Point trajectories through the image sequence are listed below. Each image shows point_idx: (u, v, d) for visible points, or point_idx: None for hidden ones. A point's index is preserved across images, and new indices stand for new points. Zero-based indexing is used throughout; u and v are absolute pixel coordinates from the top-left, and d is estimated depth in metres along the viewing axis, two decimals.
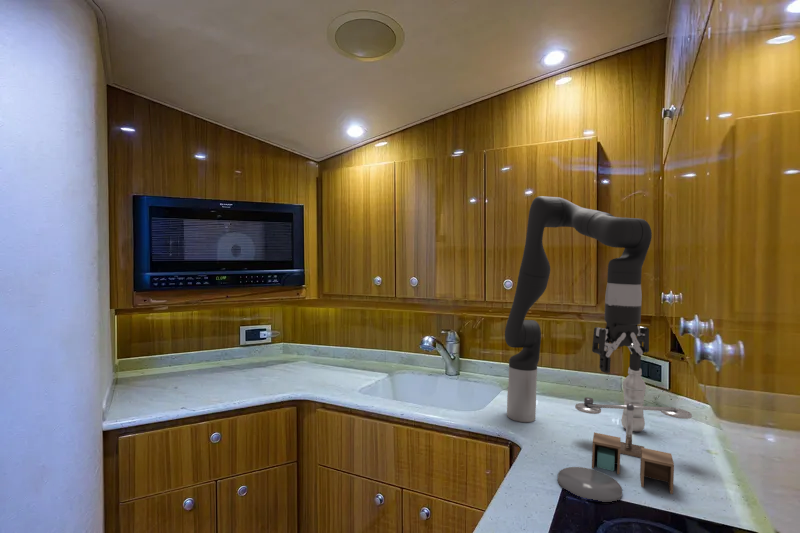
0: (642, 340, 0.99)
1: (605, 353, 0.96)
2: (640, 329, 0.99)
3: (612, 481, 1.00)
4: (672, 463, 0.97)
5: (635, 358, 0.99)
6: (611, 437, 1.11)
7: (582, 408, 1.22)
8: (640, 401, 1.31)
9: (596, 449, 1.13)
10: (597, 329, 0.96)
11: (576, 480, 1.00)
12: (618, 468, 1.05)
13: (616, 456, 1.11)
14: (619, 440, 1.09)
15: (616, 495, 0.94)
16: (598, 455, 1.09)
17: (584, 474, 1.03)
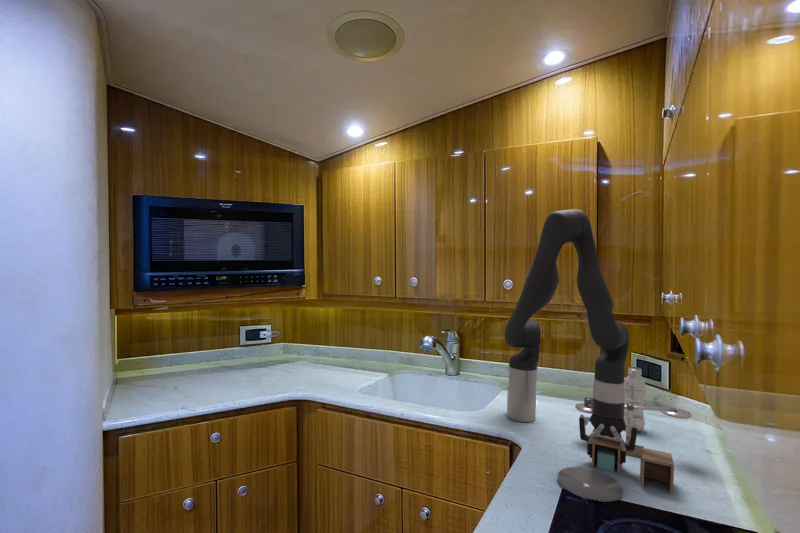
0: None
1: None
2: None
3: (612, 481, 1.00)
4: (672, 463, 0.97)
5: None
6: None
7: (582, 408, 1.22)
8: (640, 401, 1.31)
9: (596, 449, 1.13)
10: None
11: (576, 480, 1.00)
12: (618, 468, 1.05)
13: (616, 456, 1.11)
14: None
15: (616, 495, 0.94)
16: (598, 455, 1.09)
17: (584, 474, 1.03)
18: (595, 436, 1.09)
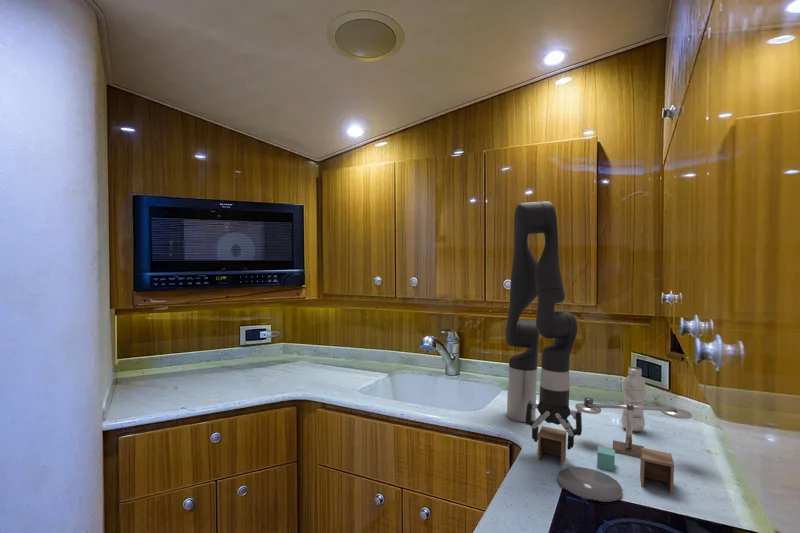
0: (531, 413, 1.16)
1: None
2: None
3: (612, 481, 1.00)
4: (672, 463, 0.97)
5: None
6: (557, 430, 1.14)
7: (582, 408, 1.22)
8: (640, 401, 1.31)
9: (544, 442, 1.16)
10: (580, 413, 1.09)
11: (576, 480, 1.00)
12: (561, 460, 1.09)
13: None
14: (564, 433, 1.12)
15: (616, 495, 0.94)
16: (598, 455, 1.09)
17: (584, 474, 1.03)
18: (540, 422, 1.13)
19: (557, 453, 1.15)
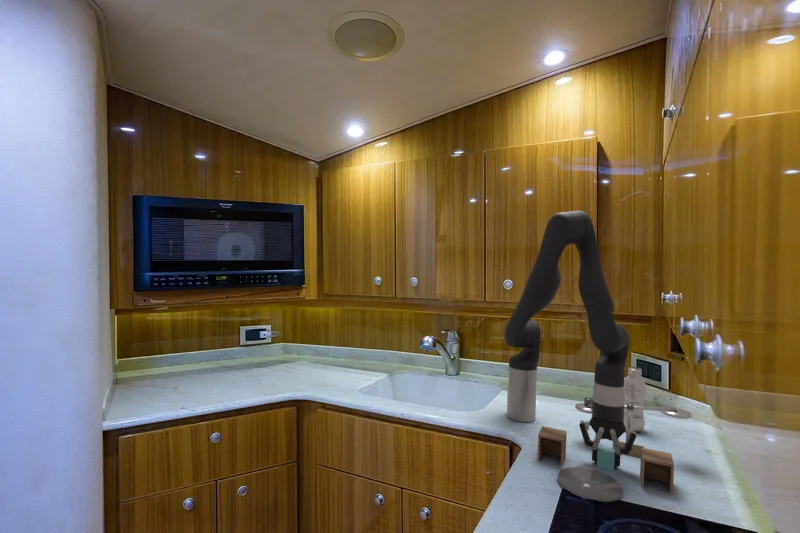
0: (587, 432, 1.12)
1: None
2: None
3: (612, 481, 1.00)
4: (672, 463, 0.97)
5: None
6: (557, 430, 1.14)
7: (582, 408, 1.22)
8: (640, 401, 1.31)
9: (544, 442, 1.16)
10: None
11: (576, 480, 1.00)
12: (561, 460, 1.09)
13: None
14: (564, 433, 1.12)
15: (616, 495, 0.94)
16: (598, 455, 1.09)
17: (584, 474, 1.03)
18: (598, 441, 1.09)
19: (557, 453, 1.15)
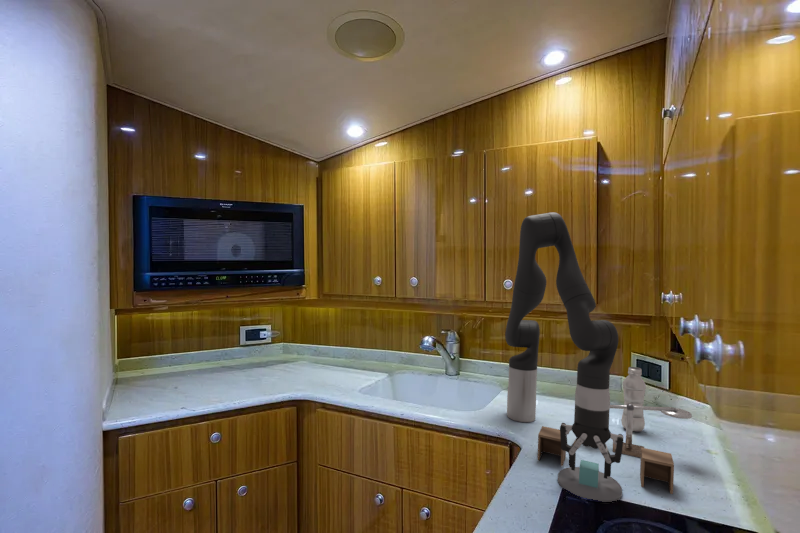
0: (566, 436, 1.02)
1: None
2: None
3: (612, 481, 1.00)
4: (672, 463, 0.97)
5: (575, 456, 1.01)
6: (557, 430, 1.14)
7: None
8: (640, 401, 1.31)
9: (544, 442, 1.16)
10: None
11: (576, 480, 1.00)
12: (561, 460, 1.09)
13: None
14: None
15: (616, 495, 0.94)
16: (580, 470, 0.98)
17: None
18: (577, 446, 0.99)
19: (557, 453, 1.15)
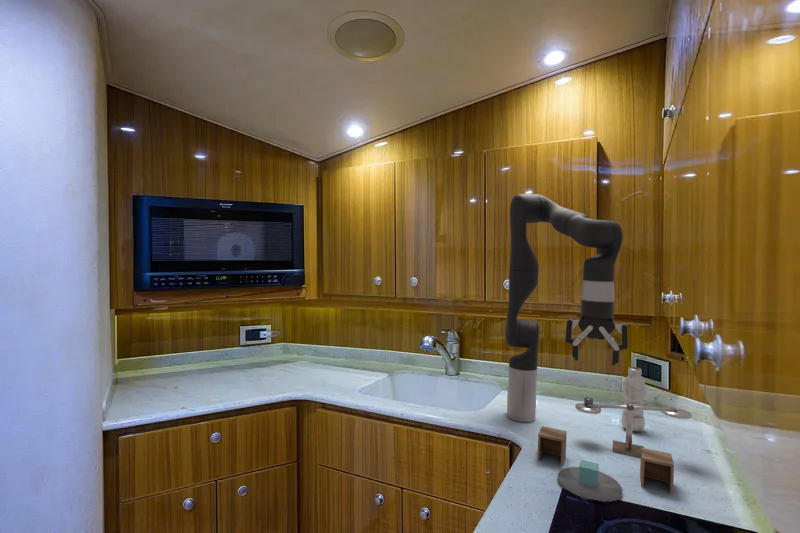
0: (571, 331, 1.09)
1: None
2: None
3: (612, 481, 1.00)
4: (672, 463, 0.97)
5: (578, 348, 1.08)
6: (557, 430, 1.14)
7: (582, 408, 1.22)
8: (640, 401, 1.31)
9: (544, 442, 1.16)
10: (626, 325, 1.02)
11: (576, 480, 1.00)
12: (561, 460, 1.09)
13: None
14: (564, 433, 1.12)
15: (616, 495, 0.94)
16: (580, 470, 0.98)
17: None
18: (581, 338, 1.06)
19: (557, 453, 1.15)
